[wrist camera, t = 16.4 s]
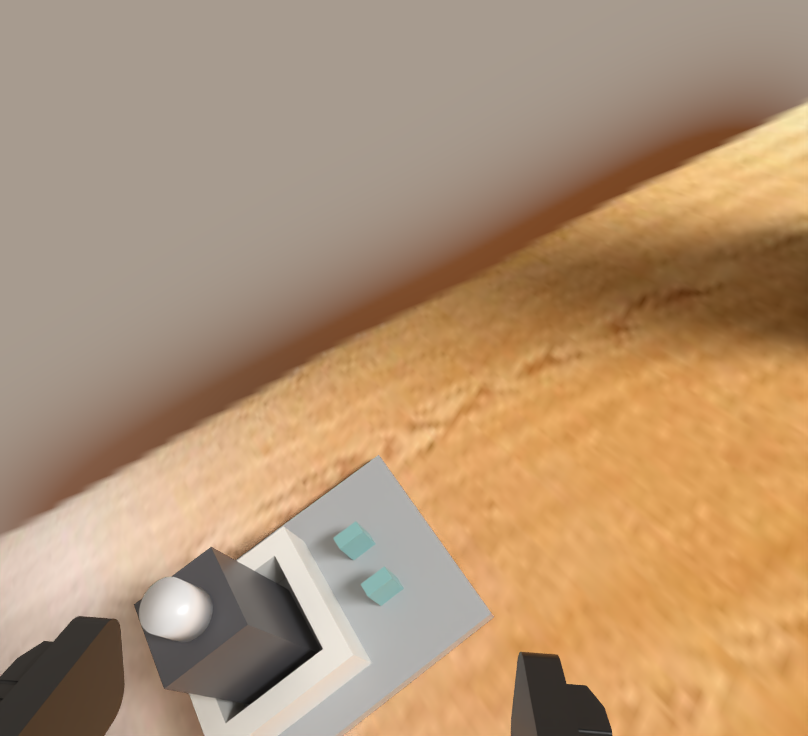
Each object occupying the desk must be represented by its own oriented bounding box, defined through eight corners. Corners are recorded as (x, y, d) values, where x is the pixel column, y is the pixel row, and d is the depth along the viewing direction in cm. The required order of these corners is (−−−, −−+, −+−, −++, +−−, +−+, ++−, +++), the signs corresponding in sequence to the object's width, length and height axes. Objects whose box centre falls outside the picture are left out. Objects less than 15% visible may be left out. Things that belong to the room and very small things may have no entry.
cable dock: (383, 461, 42) (363, 435, 39) (494, 617, 35) (482, 601, 32) (177, 612, 40) (139, 598, 37) (252, 806, 34) (213, 810, 30)
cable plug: (288, 589, 38) (188, 534, 29) (323, 654, 36) (225, 615, 27) (227, 636, 38) (106, 595, 29) (258, 705, 35) (136, 683, 26)
